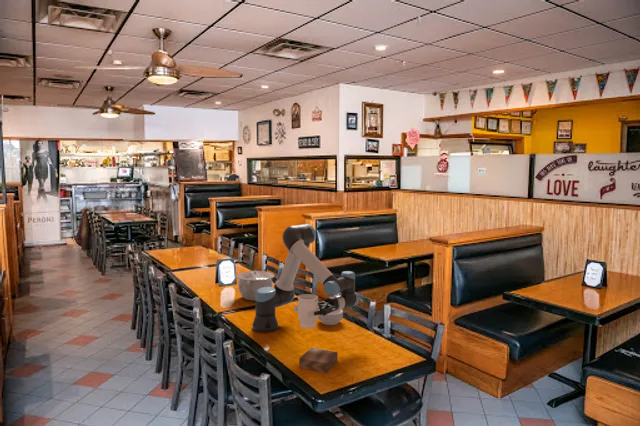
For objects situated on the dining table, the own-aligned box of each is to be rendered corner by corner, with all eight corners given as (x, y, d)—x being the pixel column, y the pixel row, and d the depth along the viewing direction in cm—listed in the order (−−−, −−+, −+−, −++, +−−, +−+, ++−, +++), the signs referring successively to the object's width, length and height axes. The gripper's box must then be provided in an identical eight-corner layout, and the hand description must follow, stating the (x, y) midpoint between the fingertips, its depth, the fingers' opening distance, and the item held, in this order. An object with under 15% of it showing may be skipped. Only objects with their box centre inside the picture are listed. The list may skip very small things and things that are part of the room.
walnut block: (299, 368, 214) (299, 358, 214) (311, 357, 227) (311, 347, 227) (326, 373, 209) (326, 363, 209) (337, 362, 222) (337, 352, 221)
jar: (315, 330, 223) (315, 300, 222) (295, 328, 225) (295, 299, 224) (319, 322, 234) (320, 294, 232) (300, 321, 236) (300, 293, 234)
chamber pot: (261, 291, 345) (261, 264, 343) (282, 299, 324) (282, 270, 322) (228, 297, 327) (228, 269, 325) (248, 306, 306) (247, 276, 304)
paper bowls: (334, 329, 266) (334, 315, 265) (313, 324, 274) (313, 311, 273) (347, 321, 279) (347, 309, 278) (326, 317, 287) (326, 304, 286)
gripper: (349, 315, 232) (315, 325, 218) (320, 305, 249) (287, 313, 235) (349, 301, 231) (315, 310, 217) (320, 292, 249) (287, 299, 234)
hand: (301, 311), depth 226 cm, fingers closed on jar, 10 cm apart
